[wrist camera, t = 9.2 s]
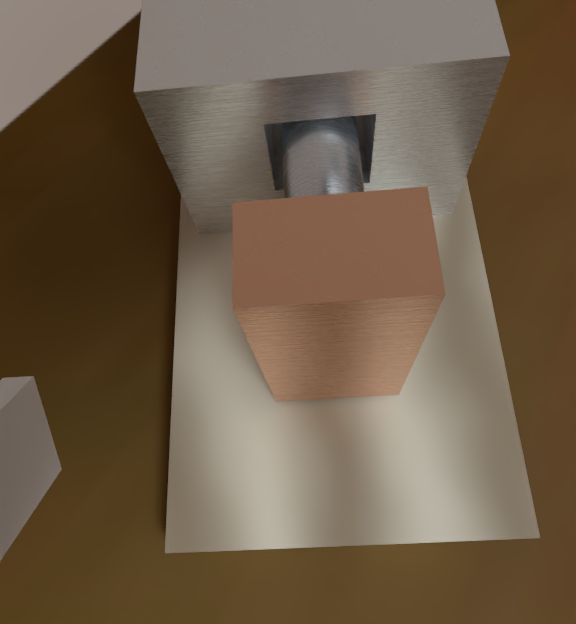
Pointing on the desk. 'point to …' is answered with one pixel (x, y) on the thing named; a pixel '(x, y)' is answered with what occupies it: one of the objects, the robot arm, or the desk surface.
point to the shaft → (334, 272)
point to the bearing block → (316, 91)
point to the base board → (342, 426)
